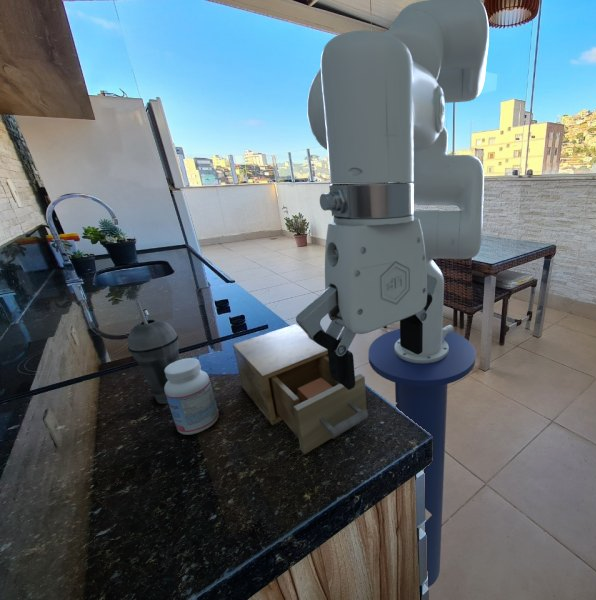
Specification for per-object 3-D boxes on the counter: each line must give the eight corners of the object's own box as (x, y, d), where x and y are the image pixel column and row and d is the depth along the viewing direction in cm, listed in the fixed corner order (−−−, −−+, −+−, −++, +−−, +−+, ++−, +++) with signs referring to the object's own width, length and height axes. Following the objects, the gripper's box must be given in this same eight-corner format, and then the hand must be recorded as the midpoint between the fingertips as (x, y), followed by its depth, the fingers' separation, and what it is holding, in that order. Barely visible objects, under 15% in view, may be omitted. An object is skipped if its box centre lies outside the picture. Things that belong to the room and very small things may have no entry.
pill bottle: (176, 420, 54) (157, 363, 50) (216, 406, 58) (201, 351, 54) (179, 442, 50) (158, 381, 46) (222, 424, 53) (207, 366, 49)
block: (323, 398, 56) (321, 377, 54) (337, 410, 53) (335, 388, 51) (300, 410, 53) (297, 388, 52) (313, 423, 50) (310, 400, 49)
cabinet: (337, 392, 61) (332, 347, 57) (272, 425, 53) (262, 376, 49) (301, 363, 71) (295, 323, 67) (242, 387, 63) (232, 344, 59)
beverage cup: (197, 381, 65) (171, 288, 58) (187, 403, 58) (157, 301, 51) (155, 388, 63) (123, 293, 56) (140, 412, 56) (101, 307, 49)
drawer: (383, 429, 50) (381, 388, 47) (319, 472, 43) (312, 426, 40) (325, 382, 62) (320, 347, 60) (267, 409, 55) (259, 371, 52)
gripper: (307, 214, 21) (330, 419, 27) (463, 201, 32) (455, 350, 38) (264, 209, 27) (291, 383, 32) (411, 199, 38) (411, 330, 43)
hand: (380, 365), depth 35 cm, fingers open, 9 cm apart
